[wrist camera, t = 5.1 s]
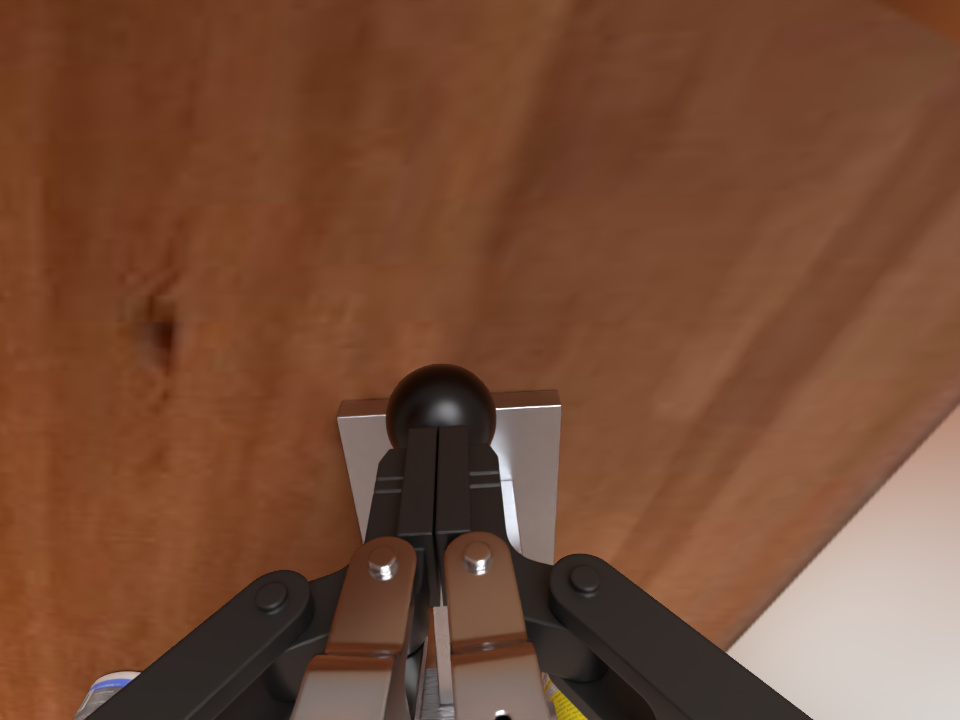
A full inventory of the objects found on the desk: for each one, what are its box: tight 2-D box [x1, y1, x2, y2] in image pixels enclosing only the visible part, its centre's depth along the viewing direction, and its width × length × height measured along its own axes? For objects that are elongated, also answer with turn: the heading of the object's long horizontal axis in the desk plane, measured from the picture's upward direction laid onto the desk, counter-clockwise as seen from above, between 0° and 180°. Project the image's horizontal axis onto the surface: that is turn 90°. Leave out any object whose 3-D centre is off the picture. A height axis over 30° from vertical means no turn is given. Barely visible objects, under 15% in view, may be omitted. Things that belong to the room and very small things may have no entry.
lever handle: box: [385, 364, 497, 720], centre depth 16 cm, size 13×3×3 cm, turn 2°
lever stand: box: [337, 390, 562, 720], centre depth 20 cm, size 12×9×12 cm
